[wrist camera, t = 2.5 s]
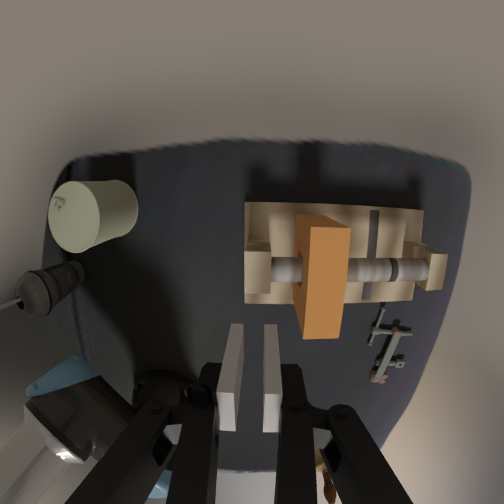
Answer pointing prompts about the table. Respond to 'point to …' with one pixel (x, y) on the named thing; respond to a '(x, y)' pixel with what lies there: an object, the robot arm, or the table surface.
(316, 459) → the hand bell
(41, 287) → the beverage cup
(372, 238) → the pipe rig
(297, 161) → the table surface
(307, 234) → the orange slotted block
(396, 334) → the clamp
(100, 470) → the robot arm
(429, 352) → the table surface
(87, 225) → the pale green cylinder
